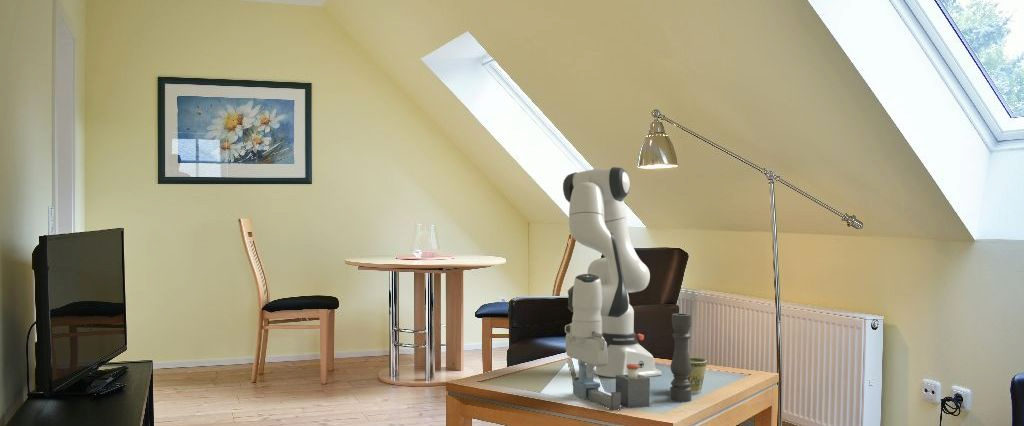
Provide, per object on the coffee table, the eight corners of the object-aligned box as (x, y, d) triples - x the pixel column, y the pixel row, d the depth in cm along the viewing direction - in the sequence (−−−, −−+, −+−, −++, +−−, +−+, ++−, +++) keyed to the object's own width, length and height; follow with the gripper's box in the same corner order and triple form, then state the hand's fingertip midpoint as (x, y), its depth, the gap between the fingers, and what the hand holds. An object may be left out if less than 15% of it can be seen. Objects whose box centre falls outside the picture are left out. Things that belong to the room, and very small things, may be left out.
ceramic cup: (699, 397, 265) (700, 363, 265) (668, 392, 270) (668, 360, 270) (714, 389, 276) (714, 357, 276) (683, 386, 281) (684, 354, 281)
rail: (580, 393, 268) (580, 376, 268) (620, 410, 246) (620, 392, 246) (573, 393, 267) (573, 376, 267) (612, 410, 245) (613, 392, 245)
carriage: (590, 392, 266) (590, 362, 266) (599, 397, 260) (600, 366, 260) (572, 394, 263) (572, 364, 263) (581, 398, 258) (582, 367, 258)
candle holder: (667, 397, 263) (668, 313, 263) (687, 397, 264) (689, 313, 264) (673, 402, 257) (674, 315, 257) (693, 401, 258) (695, 315, 258)
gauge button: (634, 383, 255) (634, 363, 255) (640, 386, 252) (641, 365, 252) (624, 384, 254) (624, 364, 254) (630, 386, 251) (630, 366, 251)
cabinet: (636, 401, 258) (636, 373, 258) (649, 406, 251) (649, 378, 251) (615, 402, 255) (615, 375, 255) (627, 408, 248) (628, 379, 248)
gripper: (613, 334, 253) (612, 382, 253) (580, 324, 272) (579, 369, 272) (594, 335, 251) (593, 384, 251) (562, 325, 270) (561, 371, 270)
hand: (586, 376), depth 262 cm, fingers closed on carriage, 2 cm apart
